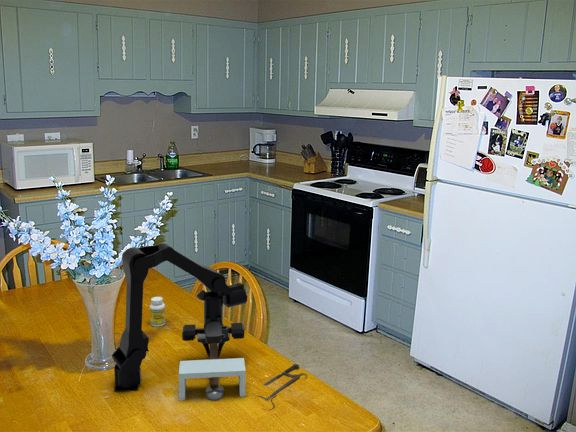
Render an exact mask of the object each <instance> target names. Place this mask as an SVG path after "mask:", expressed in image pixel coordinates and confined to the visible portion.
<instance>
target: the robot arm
mask: <svg viewBox="0 0 576 432" xmlns="http://www.w3.org/2000/svg"><path fill="white" fill-rule="evenodd" d="M121 261H122V262H121V263H122V269H123V273H124V276H125V280H126V291H125V292H126V297H125V298H126V300H125V327H124V330H123V332H122V334H121V336H120V340H119V341H120V342H119V346H118V347H117V349H116V350H115V351H114V352H113V353H112V354H111V358H112V360H113V363H115V365H114V370H113V371H114V388H113V391H114V392H132V391H134V392H135V391H139V386H140V385H141V384H142V383H141V382H142V369H141V368H142V367H141V365H142V362H143V360H144V359H145V358H146V356H147V353H148V352H150V350H149V342H150V341H149V340H150V339H149V336H148V335H147V334H146V333H145V332H144V330H143V304H144V303H143V301H144V283H145V281H146V279H147V277H148V274H149V272H150V271H149V270H150V269H152V268H156V267H158V266H159V265H161V264H162V263H164V262H169V263H170V264H173V265H174V266H175V267H177V268H179V269H180V270H182V271H184V272H186V273H187V274H189V275H191V276H193V277H194V279H196V280H197V281H198V282H199V283H200V284H201V285H202V286H204V287H206V289H208V291H205V290H204V289H202V290H201V291H200V292H198V294H197V295H196V297H197V298H198V299H199V300H201V302H202V301H203V327H202V328H199V327H198V328H196V327H197V326H196V324H184V325H183V326H182V331H181V332H182V333H181V335H182V336H181V337H182V339H181V340H182V341H184V342H189V341H194V340H195V339H196V336H197V343H201V344H202V345H203V347H204V351H205V352H206V355H207V358H210V344H211V343H217V344H218V358H220V356H221V353H222V350H223V347H224V345H225V344H226V343H227V342H230V340H231V339H230V336H231V338H232V339H233V340H237V339H238V340H239V339H241V340H242V339H244V338H245V327H244V323H243V322H231V323H230V326H229V325H224V308H223V307H224V306H226V308H234V307H236V306H237V307H238V306H241V305H245V304H246V303H247V302H248V295H247V292H246V289H245V287H244V286H245V285H244V283H242V282H237V283H235V284H230V285H228V284H227V282H226V276H224V275H223V274H222V273H221V272H219V271H217V270H216V269H214V268H212V267H210V266H206V265H201V264H199V263H197V262H195V261H194V260H192V259H190V258H189V257H187V256H186V255H184V254H182V253H181V252H179V251H178V250H176V249H174V248H173V247H172V246H170V245H169V244H168V243H165V242H164V243H163V242H162V243H159V244H155V245H146V246H141V247H134V246H133V247H129V248H126V250H125V251H124V252H122V255H121Z"/></svg>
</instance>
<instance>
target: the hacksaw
mask: <svg viewBox="0 0 576 432" xmlns="http://www.w3.org/2000/svg"><path fill="white" fill-rule="evenodd" d="M299 368H300V365H299V364H297V363H293V364H292V366H290V367H288V368H287V369H285V370H284V371H282V372H281V374H280V373H279V374H278V375H275V377H273V378H271V379H270V380H269V381H266V382H265V383H264V384H262V386H269V385H270V384H272V383H273V382H275V381H277V380H279V379H280V378H281V377H283V376H285V377H289V378H291V379H290V380H288V381H287V382H286V383H285V384H283V385H281V386H280V387H279V388H277V389H276V390H275V391H274V392H272V393H271V394H269V396H268V397H265V396H263V395H256V394H255V393H253V394H252V395H254V396H255V397H258V398H262V399H263V400H264V401H266V402H268V401H270V403H271V404H272V406H273V407H272V408H270V409H269V411H271V410H274V409H275V408H276V406H275V403H273V399H275V398H276V397H277V396H278V395H277V394H279V393H280V392H281V391H283V390H284V389H286V388H287V387H288V386H290V385H292V384H294V383H295V382H296V381H297V380H298V379H300V378H301V379H307V377H308V374H307V373H305V372H302V373H298V374H292V373H291V372H293V371H295V370H299ZM301 375H306V376H305V377H303V378H302V377H301ZM270 399H271V400H270ZM261 409H262V410H265V411H266V409H265V408H263V407H262V408H261Z"/></svg>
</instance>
